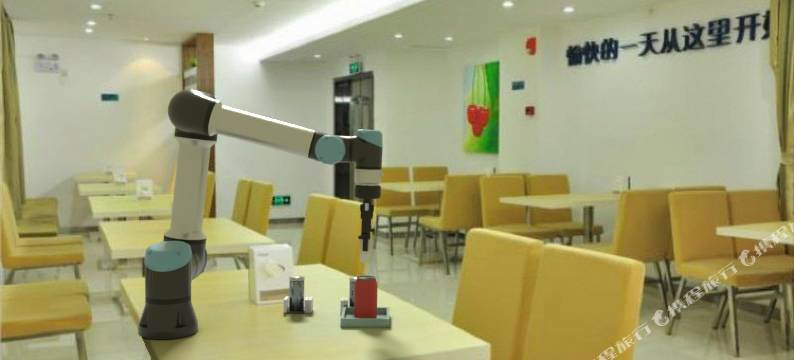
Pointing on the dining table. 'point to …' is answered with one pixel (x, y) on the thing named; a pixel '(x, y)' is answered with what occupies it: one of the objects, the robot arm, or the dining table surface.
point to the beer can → (365, 297)
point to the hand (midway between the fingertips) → (365, 258)
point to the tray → (351, 321)
